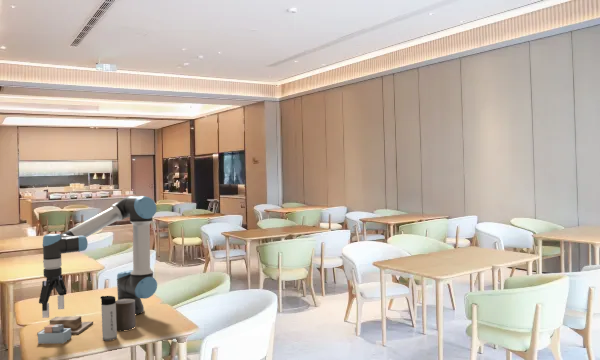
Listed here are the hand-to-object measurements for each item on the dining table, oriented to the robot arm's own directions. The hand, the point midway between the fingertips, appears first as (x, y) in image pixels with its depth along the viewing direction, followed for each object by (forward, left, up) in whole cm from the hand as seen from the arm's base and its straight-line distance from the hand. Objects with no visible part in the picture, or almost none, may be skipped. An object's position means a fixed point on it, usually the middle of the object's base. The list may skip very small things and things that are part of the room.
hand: (53, 313), depth 228 cm
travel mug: (-25, -1, -13) cm, 28 cm away
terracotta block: (+2, 0, -9) cm, 10 cm away
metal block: (-2, 0, -9) cm, 9 cm away
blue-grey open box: (0, 0, -13) cm, 13 cm away
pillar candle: (-27, -16, -13) cm, 34 cm away
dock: (+3, -16, -13) cm, 21 cm away
